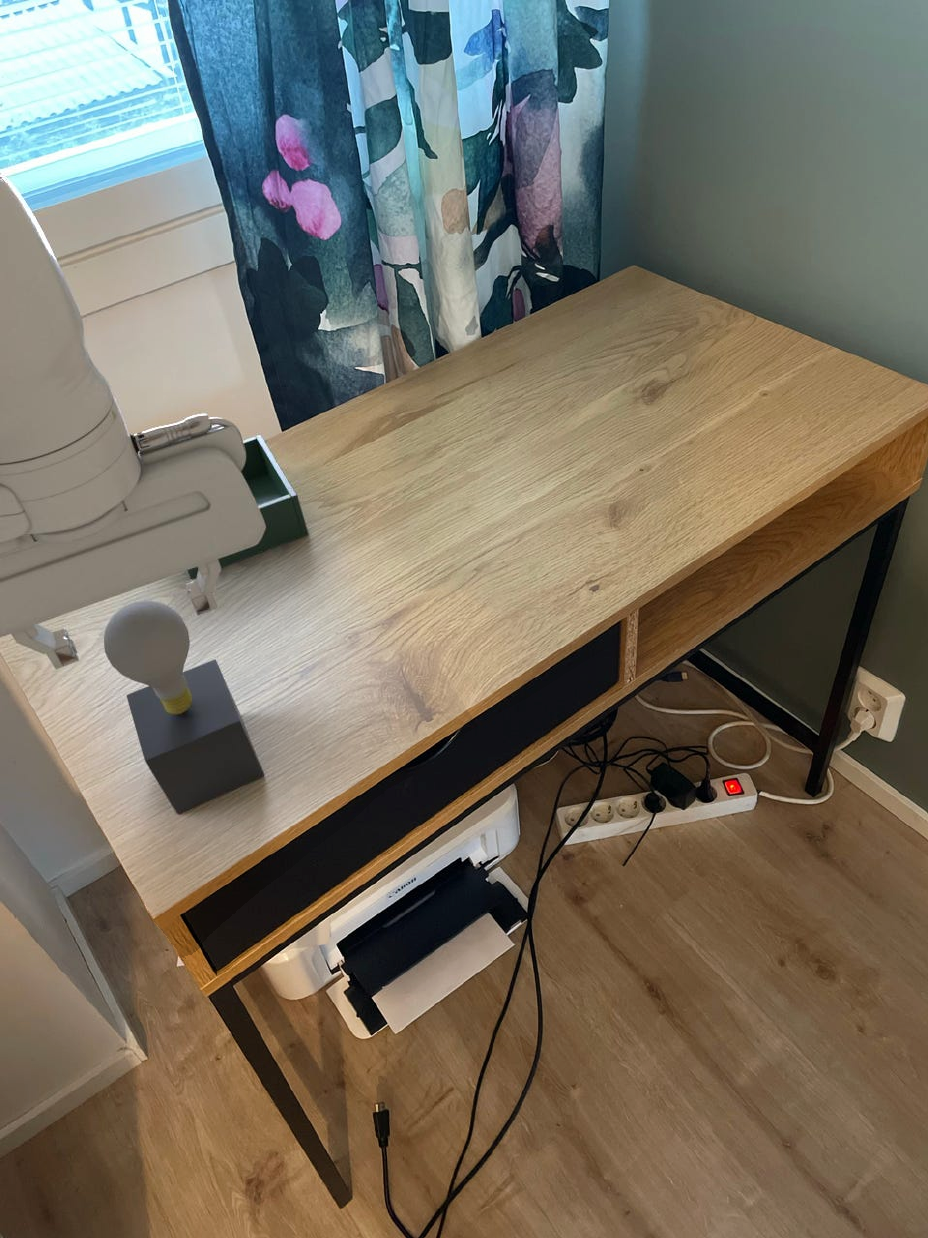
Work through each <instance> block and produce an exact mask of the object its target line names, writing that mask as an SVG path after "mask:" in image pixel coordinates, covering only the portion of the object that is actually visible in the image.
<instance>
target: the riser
mask: <svg viewBox="0 0 928 1238" xmlns="http://www.w3.org/2000/svg"><path fill="white" fill-rule="evenodd" d="M183 675H184V677H185V679H186V681H187V687H188V689H189V691H190V693H191V695H192V704H191V706H190V707H189V708H188V709H187V710H186V711H185V712H183V713H181V714H170V713H168V712H167V711H166V710H165V708H164V705H163V703H162V702H161V700H160V698H159V697H157V695H156V694H155V692H154V690H153V688H152V687H151V686H148V685H147V686H146V687H143V688H140V689H138V690H135V691H133V692H130V693H127V694H126V700H127V703H128V706H129V710H130V714H131V717H132V720H133V724H134V728H135V731H136V734H137V739H138V741H139V745H140V749H141V753H142V756H143V759H144V762H145V764H146V765H147V767H148V769H149V771H150V772H151V774H152V775H153V777H154V778H155V779H154V780H156V782H157V784H158V785H159V787H160V788H161V790H162V792H163V793H164V795H165V797H166V799H167V800H168V801H169V803H170V804H171V807H172V808H173V810H174V811H175V813H176V815H181V814H182V813H184V812H187V811H189V810H191V809H194V808H196V807H198V806H200V805H202V804H205V803H207V802H210V801H211V800H214V799H216V798H218V797H221V796H223V795H225V794H227V793H230V792H232V791H234V790H236V789H239V788H241V787H243V786H245V785H248V784H250V783H252V782H254V781H257V780H259V779H261V778H263V777H265V773H264V770H263V768H262V765H261V763H260V760H259V757H258V755H257V753H256V750H255V747H254V745H253V743H252V740H251V737H250V735H249V732H248V730H247V728H246V725H245V723H244V720H243V717H242V715H241V713H240V710H239V708H238V706H237V704H236V701H235V699H234V697H233V695H232V693H231V691H230V688H229V686H228V684H227V682H226V679H225V677H224V675H223V673H222V670H221V668H220V665H219V663H218V661H217V660H216V659H211V660H209V661H207V662H204V663H202V664H200V665H197V666H195V667H192V668H190V669H187V670H185V671H183Z"/></svg>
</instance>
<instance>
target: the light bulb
mask: <svg viewBox="0 0 928 1238" xmlns="http://www.w3.org/2000/svg"><path fill="white" fill-rule="evenodd" d="M190 646H191V641H190V633H189V629H188V626H187V625H186V622H185V621H184V619H183V617H182V616H181V615H180V614H179V613H178V612H177V611H176V610H175V609H173V608H172V607H170V606H169V605H167V604H165V603H163V602H161V601H155V600H149V599H148V600H147V599H146V600H145V599H144V600H138V601H134V602H130V603H128V604H126V605H125V606H122V607H120V608H119V609H118V610H117V611H116V612H114V614H113V615H112V617H110V619H109V621H108V623H107V625H106V627H105V630H104V634H103V649H104V653H105V655H106V657H107V659H108V661H109V663H110V665H111V666H112V667H113V668H114V669H115V670H116V671H117V672H118V673H119V674H120V675H122V676H123V677H125V678H126V679H129V680H131V681H134V682H137V683H139V684H143V685H145V686H147V687H148V686H151V687H152V688H153V690H154V692H155V694H156V695H157V697H159V698H160V700H161V702H162V703H163V705H164V708H165V710H166V711H167V712H168V713H170V714H181V713H183V712H185V711H186V710H187V709H188V708H189V707H190V706H191V704H192V695H191V693H190V691H189V689H188V687H187V681H186V679H185V677H184V675H183V672H184V667H185V664H186V661H187V658H188V655H189V650H190Z"/></svg>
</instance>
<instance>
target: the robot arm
mask: <svg viewBox="0 0 928 1238" xmlns="http://www.w3.org/2000/svg"><path fill="white" fill-rule="evenodd" d="M84 329H85V328H84V321H83V318H82V315H81V313H80V310H79V308H78V305H77V302H76V300H75V298H74V296H73V293H72V291H71V289H70V286H69V284H68V281H67V280H66V277H65V275H64V273H63V270H62V268H61V266H60V264H59V263H58V260H57V258H56V256H55V254H54V252H53V249H52V248H51V246H50V243H49V242H48V239H47V238H46V236H45V234H44V231H43V230H42V228H41V227H40V224H39V223H38V221H37V219H36V217H35V216H34V214H33V212H32V210H31V209H30V207H29V206H28V204H27V203H26V200H25V199H24V198H23V196H22V195H21V193H20V192H19V191H18V189H17V188H16V186H14V184H13V183H12V182H11V181H10V180H9V179H8V178H7V177H6V176H4V175H3V174H2V173H0V638H3V637H6V636H9V635H11V636H12V638H13V639H14V641H15V643H16V644H19V645H20V646H23V647H25V648H27V649H31V650H33V651H36V652H38V653H40V654H42V655H46V656H47V658H48V659H49V661H50V662H51V664H52V665H53V667H54V669H55V670H58V669H62V668H63V667H66V666H69V665H72V664H74V663H77V662H79V661H80V657H79V656H78V650H77V648H76V645H75V643H74V640H73V639H71V636H70V634H69V632H68V631H67V629H66V628H65V627H64V628H61V629H58V630H55V631H51V630H50V629H47V628H46V627H44V626H42V625H40V624H42V623H45V622H48V621H50V620H54V619H56V618H59V617H62V616H63V615H66V614H70V613H73V612H75V611H78V610H81V609H83V608H86V607H89V606H92V605H94V604H97V603H101V602H103V601H105V600H108V599H111V598H114V597H117V596H120V595H123V594H125V593H128V592H131V591H134V590H137V589H139V588H142V587H144V586H148V585H150V584H153V583H156V582H158V581H161V580H164V579H167V578H170V577H173V576H175V575H179V574H181V573H183V572H186V571H187V570H189V569H192V568H195V567H198V569H199V570H198V574H197V577H195V580H192V581H190V582H186V583H185V584H184V586H185V588H186V590H187V593H188V596H189V598H190V601H191V603H192V605H193V607H194V610H195V613H196V615H197V617H198V616H201V615H204V614H208V613H210V612H213V611H215V610H219V606H218V603H217V601H216V598H215V596H214V593H213V592H214V591H215V589H216V586H217V584H218V580H219V578H220V575H221V571H222V567H221V566H220V563H219V560H218V559H219V558H222V557H225V556H228V555H231V554H233V553H236V552H239V551H242V550H244V549H247V548H250V547H253V546H255V545H257V544H258V543H259V542H260V540H261V538H262V536H263V534H264V531H265V529H266V525H265V522H264V519H263V517H262V514H261V512H260V510H259V507H258V505H257V503H256V501H255V498H254V496H253V494H252V492H251V490H250V488H249V486H248V484H247V482H246V480H245V479H244V477H243V475H242V473H241V471H242V469H243V467H244V465H245V461H246V450H245V447H244V443H243V437H242V434H241V432H240V429H239V428H238V427H237V426H236V424H234V423H233V422H232V421H230V420H228V419H225V418H222V417H209V416H208V414H207V413H200V414H196V415H195V414H194V415H192V416H189V417H186V418H184V420H181V421H179V422H176V423H173V424H172V423H171V424H168V425H167V424H166V425H163V426H162V425H161V426H158V427H153V428H151V429H147V430H145V431H141V432H138V433H135V434H131V433H130V431H129V429H128V425H127V424H126V422H125V419H124V417H123V414H122V412H121V409H120V407H119V404H118V403H117V400H116V398H115V395H114V392H113V390H112V388H111V385H110V384H109V382H108V380H107V378H105V376H104V375H103V374H102V373H101V371H100V370H99V369H98V368H97V366H96V365H95V364H94V362H93V360H92V359H91V357H90V354H89V352H88V348H87V345H86V339H85V330H84Z"/></svg>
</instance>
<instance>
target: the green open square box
mask: <svg viewBox="0 0 928 1238" xmlns="http://www.w3.org/2000/svg"><path fill="white" fill-rule="evenodd" d="M242 440H243V439H242ZM243 443H244V447H245V450H246V461H245V465H244V467H243V469H242V471H241V473H242V475H243V477H244V479H245V480H246V482H247V484H248V486H249V488H250V490H251V492H252V494H253V496H254V498H255V501H256V503H257V505H258V507H259V510H260V512H261V514H262V517H263V519H264V522H265V525H266V529H265V531H264V534H263V536H262V538H261V540H260V542H259V543H258V544H257V545H255V546H253V547H250V548H247V549H244V550H242V551H239V552H236V553H233V554H231V555H228V556H225V557H222V558H219V559H218V560H219V563H220V566H221V568H224V567H226V566H230V565H231V564H234V563H237V562H240V561H242V560H245V559H247V558H250V557H253V556H255V555H258V554H261V553H263V552H267V551H268V550H271V549H274V548H276V547H279V546H282V545H284V544H287V543H289V542H293V541H295V540H297V539H301V538H303V537H305V536H308V535H309V530H308V527H307V524H306V521H305V517H304V514H303V511H302V507H301V504H300V500H299V495H298V494H297V493H296V490H295V489H294V487H293V486H292V484H291V483H290V481H289V479H288V478H287V476H286V474H285V473H284V471H283V469H282V467H281V466H280V464H279V463H278V461H277V460H276V459H277V458H275V456H274V454H273V452H272V451H271V450H270V447H269V446H268V444H267V442H266V441H265V439H264V438H263V436H262V434H258V435H255V436H252V437H249V438H246V439H244V440H243ZM198 570H199V569H198V567H195V568H192V569H189V570H186V571H187V574H188V576H189V578H190V579H191V580H192V579H196V578H197V574H198Z"/></svg>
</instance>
